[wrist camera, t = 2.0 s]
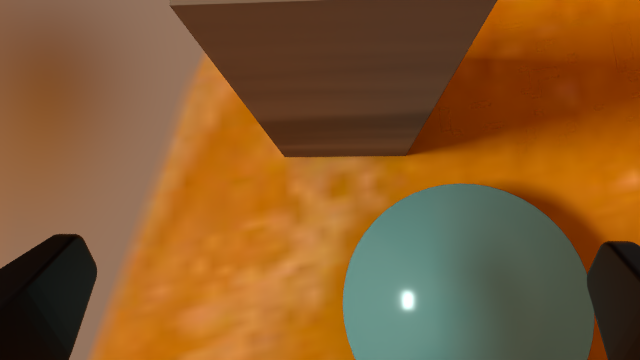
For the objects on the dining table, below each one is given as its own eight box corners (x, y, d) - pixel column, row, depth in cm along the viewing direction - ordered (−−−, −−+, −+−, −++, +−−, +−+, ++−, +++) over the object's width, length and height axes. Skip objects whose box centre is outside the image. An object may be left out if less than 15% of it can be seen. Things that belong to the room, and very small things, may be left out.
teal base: (607, 338, 18) (647, 353, 16) (417, 454, 18) (428, 487, 16) (481, 153, 20) (500, 140, 17) (305, 259, 20) (298, 261, 17)
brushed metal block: (405, 155, 20) (500, -6, 7) (284, 156, 20) (169, 5, 8) (403, 57, 21) (487, -253, 8) (286, 60, 21) (182, -231, 8)
